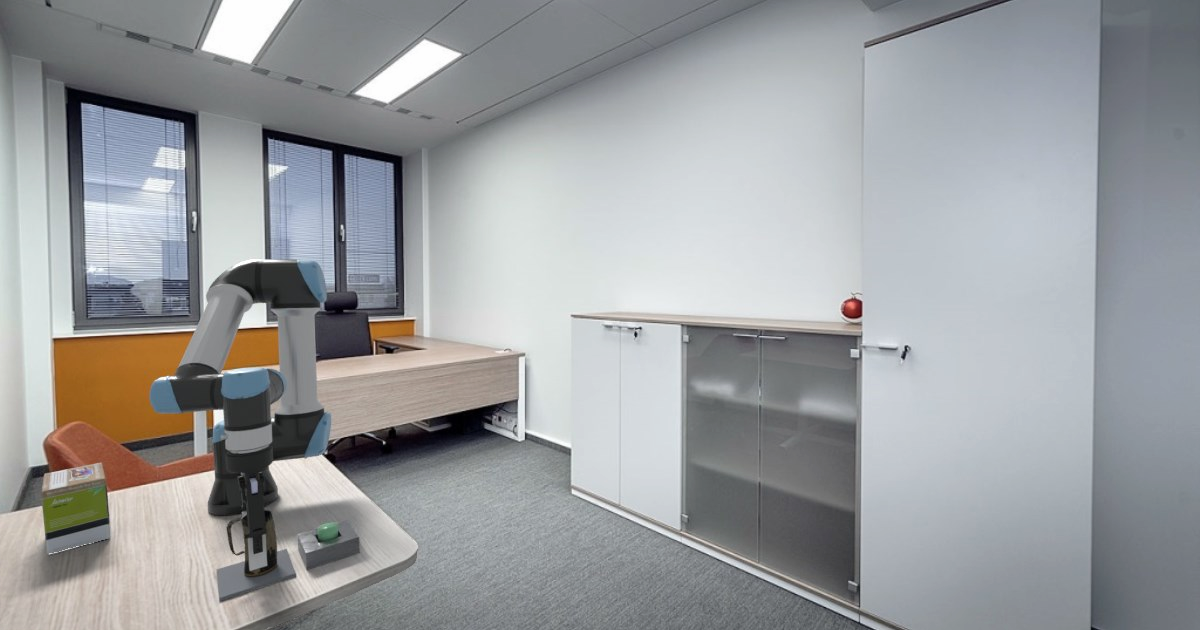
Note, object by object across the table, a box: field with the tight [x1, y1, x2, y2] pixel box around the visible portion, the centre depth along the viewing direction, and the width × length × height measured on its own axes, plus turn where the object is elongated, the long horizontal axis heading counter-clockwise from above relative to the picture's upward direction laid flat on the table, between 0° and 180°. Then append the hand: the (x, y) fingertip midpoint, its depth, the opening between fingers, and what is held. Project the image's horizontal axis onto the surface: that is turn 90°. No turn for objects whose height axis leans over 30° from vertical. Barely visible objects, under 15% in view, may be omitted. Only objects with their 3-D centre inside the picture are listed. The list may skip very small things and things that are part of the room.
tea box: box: [40, 462, 111, 555], centre depth 113 cm, size 15×10×15 cm, turn 47°
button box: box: [297, 520, 361, 571], centre depth 106 cm, size 10×10×4 cm
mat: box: [216, 548, 297, 602], centre depth 98 cm, size 12×12×1 cm
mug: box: [226, 509, 278, 577], centre depth 97 cm, size 8×6×12 cm
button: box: [317, 521, 338, 543], centre depth 106 cm, size 4×4×3 cm
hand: (254, 553), depth 98 cm, fingers open, 12 cm apart
